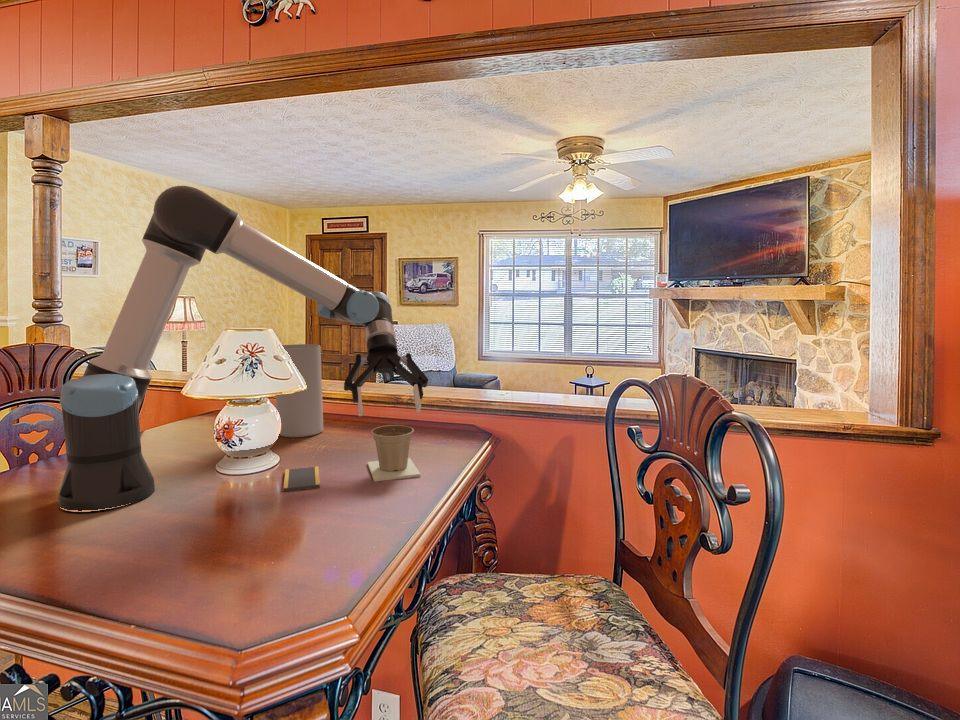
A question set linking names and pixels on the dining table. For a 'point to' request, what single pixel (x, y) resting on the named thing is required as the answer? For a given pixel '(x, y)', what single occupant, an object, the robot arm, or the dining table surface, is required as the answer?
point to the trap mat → (301, 478)
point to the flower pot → (392, 446)
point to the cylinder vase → (303, 394)
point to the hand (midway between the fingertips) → (390, 411)
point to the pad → (392, 472)
